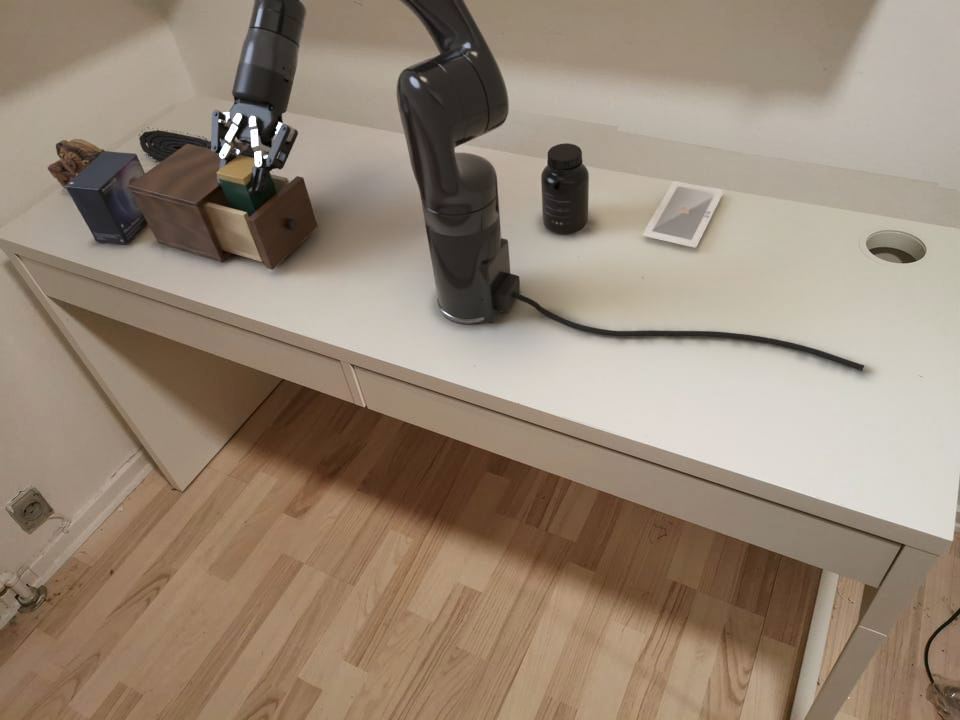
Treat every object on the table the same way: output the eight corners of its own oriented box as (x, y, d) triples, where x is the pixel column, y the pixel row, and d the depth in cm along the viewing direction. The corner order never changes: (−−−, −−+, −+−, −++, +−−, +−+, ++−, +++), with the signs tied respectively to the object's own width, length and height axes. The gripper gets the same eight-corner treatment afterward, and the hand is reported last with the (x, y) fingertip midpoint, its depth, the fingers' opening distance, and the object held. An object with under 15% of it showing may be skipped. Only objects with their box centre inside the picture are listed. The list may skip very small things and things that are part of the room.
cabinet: (273, 216, 114) (253, 158, 106) (222, 262, 106) (195, 203, 99) (211, 200, 119) (187, 143, 111) (157, 243, 111) (127, 185, 104)
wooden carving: (53, 197, 124) (21, 146, 116) (71, 183, 126) (42, 132, 119) (127, 210, 119) (98, 157, 112) (144, 195, 122) (118, 142, 114)
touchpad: (640, 241, 101) (642, 229, 100) (672, 186, 110) (674, 174, 108) (694, 254, 98) (696, 241, 97) (722, 196, 107) (725, 184, 106)
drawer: (324, 228, 109) (309, 178, 102) (279, 272, 102) (260, 222, 96) (256, 210, 114) (238, 162, 107) (208, 251, 107) (186, 202, 101)
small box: (129, 246, 111) (98, 189, 104) (94, 242, 113) (61, 186, 105) (164, 207, 118) (137, 151, 111) (131, 205, 120) (102, 149, 112)
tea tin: (280, 202, 104) (265, 160, 99) (258, 221, 101) (243, 179, 96) (254, 195, 106) (238, 154, 101) (232, 214, 103) (215, 172, 98)
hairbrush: (251, 156, 122) (126, 141, 127) (256, 174, 125) (134, 159, 130) (272, 132, 127) (152, 118, 132) (277, 150, 130) (159, 136, 135)
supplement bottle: (552, 206, 109) (551, 135, 101) (594, 214, 107) (597, 142, 98) (535, 231, 105) (533, 160, 96) (578, 240, 103) (580, 168, 94)
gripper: (208, 54, 97) (181, 175, 99) (290, 67, 92) (260, 195, 93) (245, 75, 104) (220, 187, 106) (323, 88, 99) (295, 207, 100)
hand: (239, 190), depth 100 cm, fingers closed on tea tin, 5 cm apart
